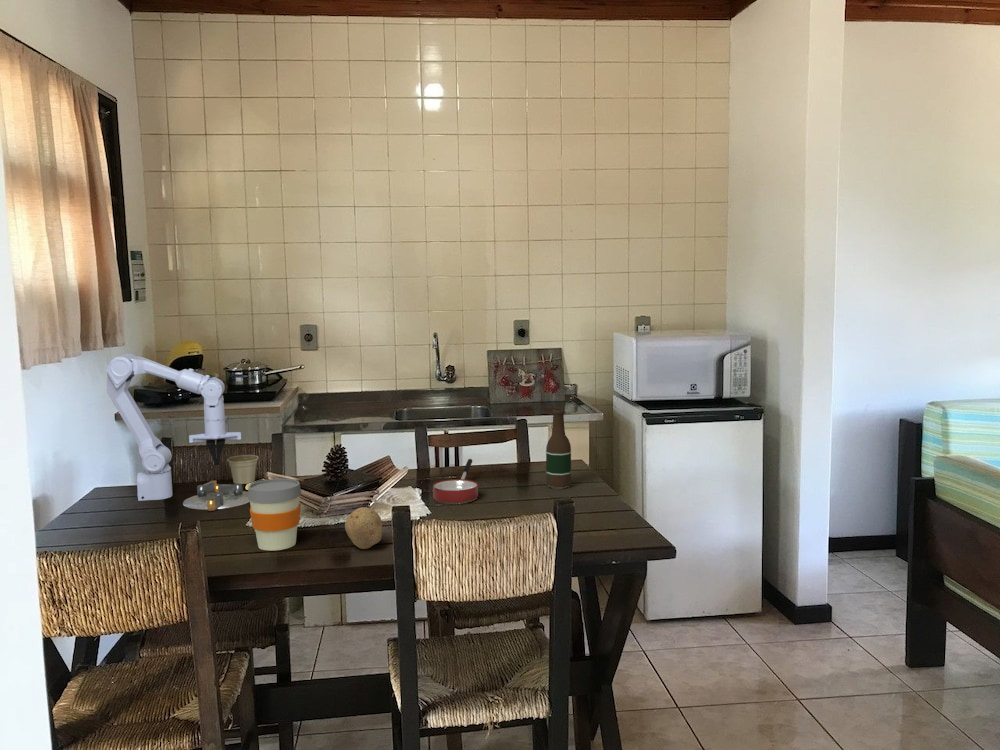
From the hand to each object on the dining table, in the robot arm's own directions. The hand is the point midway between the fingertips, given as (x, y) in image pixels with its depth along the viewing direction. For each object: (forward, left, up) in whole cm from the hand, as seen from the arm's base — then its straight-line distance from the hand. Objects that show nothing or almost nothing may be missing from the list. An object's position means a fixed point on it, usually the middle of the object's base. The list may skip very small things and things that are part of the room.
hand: (216, 464), depth 247 cm
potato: (+35, -62, -10) cm, 71 cm away
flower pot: (+8, +12, -10) cm, 18 cm away
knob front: (0, -16, -8) cm, 18 cm away
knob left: (-3, 0, -8) cm, 9 cm away
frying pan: (+69, -18, -10) cm, 72 cm away
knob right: (+3, -4, -8) cm, 10 cm away
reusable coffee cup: (+15, -52, -10) cm, 55 cm away
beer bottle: (+99, -24, -10) cm, 103 cm away
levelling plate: (+1, -8, -10) cm, 12 cm away
